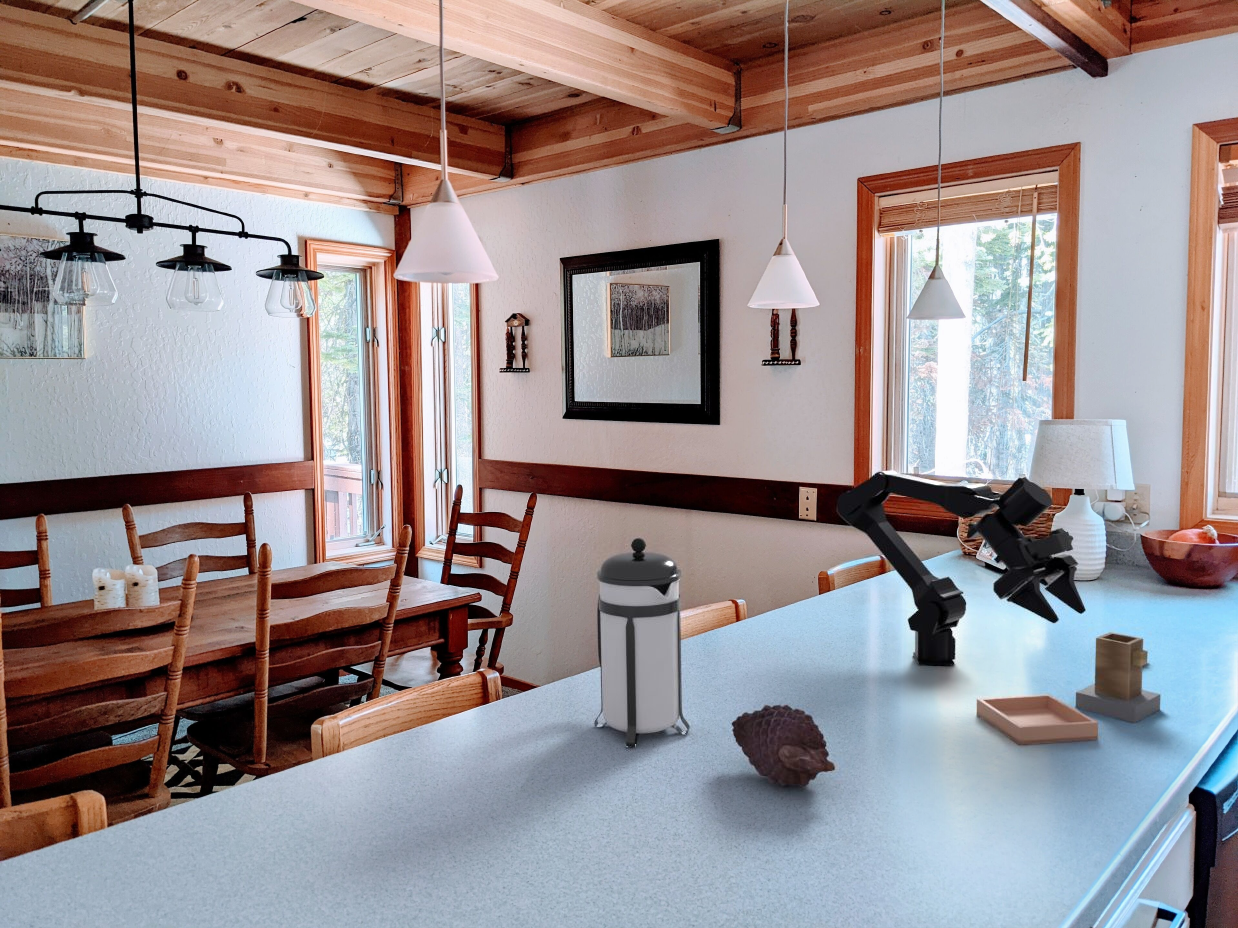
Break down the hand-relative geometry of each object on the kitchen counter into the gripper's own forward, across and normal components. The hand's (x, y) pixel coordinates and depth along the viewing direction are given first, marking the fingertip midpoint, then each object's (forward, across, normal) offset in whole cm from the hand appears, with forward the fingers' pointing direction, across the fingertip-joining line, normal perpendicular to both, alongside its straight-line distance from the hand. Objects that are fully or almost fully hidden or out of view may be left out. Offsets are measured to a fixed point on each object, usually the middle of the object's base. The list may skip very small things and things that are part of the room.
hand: (1070, 616), depth 148 cm
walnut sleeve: (+13, 0, +2) cm, 13 cm away
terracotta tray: (+12, -18, +7) cm, 22 cm away
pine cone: (+3, -61, +16) cm, 63 cm away
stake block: (+15, 0, +4) cm, 15 cm away
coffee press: (-16, -64, +35) cm, 75 cm away
